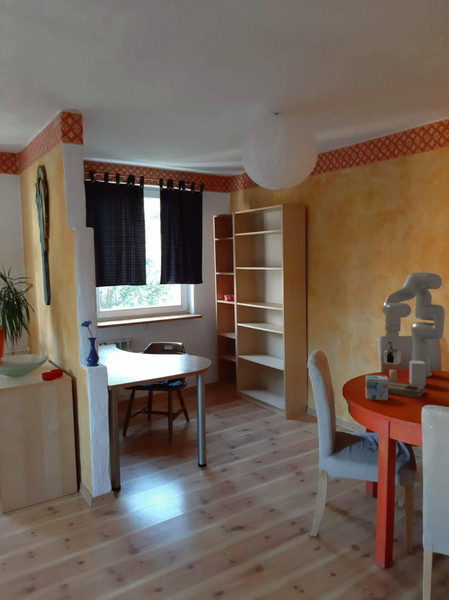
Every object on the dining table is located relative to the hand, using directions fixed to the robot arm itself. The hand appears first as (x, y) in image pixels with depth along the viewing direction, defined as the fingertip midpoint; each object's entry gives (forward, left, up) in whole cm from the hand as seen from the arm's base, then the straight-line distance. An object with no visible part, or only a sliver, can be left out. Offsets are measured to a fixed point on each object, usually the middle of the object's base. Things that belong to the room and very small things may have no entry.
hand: (392, 360), depth 243 cm
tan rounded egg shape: (-15, -3, -16) cm, 22 cm away
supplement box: (-19, +9, -16) cm, 27 cm away
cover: (0, 0, -1) cm, 1 cm away
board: (0, +5, -16) cm, 17 cm away
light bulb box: (+16, -3, -16) cm, 23 cm away
